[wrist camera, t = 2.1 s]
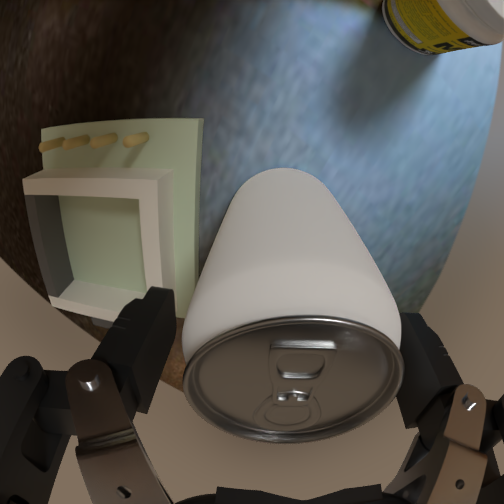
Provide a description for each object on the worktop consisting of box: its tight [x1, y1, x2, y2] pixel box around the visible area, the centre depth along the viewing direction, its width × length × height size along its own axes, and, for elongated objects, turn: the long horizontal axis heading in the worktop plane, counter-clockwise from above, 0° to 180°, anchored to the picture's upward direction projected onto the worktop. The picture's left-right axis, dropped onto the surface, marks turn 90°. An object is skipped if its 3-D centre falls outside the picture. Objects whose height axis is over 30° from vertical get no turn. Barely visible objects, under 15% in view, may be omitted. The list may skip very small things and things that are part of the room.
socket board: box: [22, 118, 204, 329], centre depth 16 cm, size 13×11×4 cm
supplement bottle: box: [382, 0, 504, 55], centre depth 7 cm, size 5×5×8 cm
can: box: [182, 168, 405, 444], centre depth 12 cm, size 6×6×12 cm
